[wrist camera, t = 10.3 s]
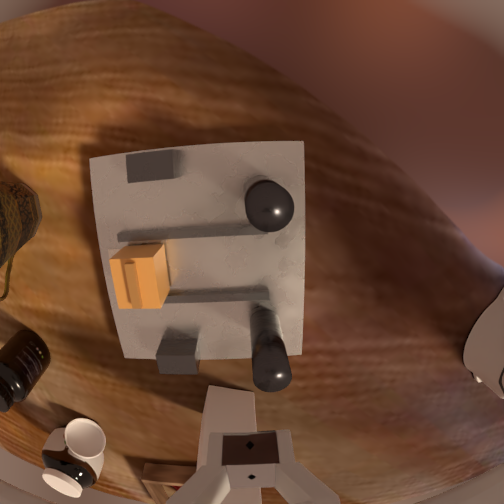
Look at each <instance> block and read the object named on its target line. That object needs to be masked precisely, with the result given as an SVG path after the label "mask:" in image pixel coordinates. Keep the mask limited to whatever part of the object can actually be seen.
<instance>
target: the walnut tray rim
mask: <svg viewBox="0 0 504 504" xmlns="http://www.w3.org/2000/svg"><path fill="white" fill-rule="evenodd" d="M196 469H197V466H178V465H165V464H154V463H145V465H144V470H143V474H142V478H141V480H142V482H143V484H144V485H145V487H146V489H147V490H148V492H149V493H150V495H151V497H152V498H153V500H154V501H155V503H156V504H166V501H167V500H168V499H169V497H168V496H167V494H166V492H165V490H164V488H163V487H162V485H172V486H183V485H184V484H185V483H186V482H187V481H188V480H189V479H190V478H191V477H192V476H193V475H194V474H195V473H196Z"/></svg>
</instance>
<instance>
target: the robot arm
mask: <svg viewBox="0 0 504 504" xmlns="http://www.w3.org/2000/svg"><path fill="white" fill-rule="evenodd" d="M463 360H464V364H465V367H466V368H467V369H468V370H470V371H471V372H473V375H474V379H475V380H476V381H477V382H484V383H485V384H486V385H487V386H488V387H489V388H490V389H491V390H493V391H494V392H495V393H496V394H497V395H498V396H499V397H501V398H503V399H504V287H503V289H502V291H501V292H500V294H499V296H498V297H497V298H496V300H495V301H494V302H493V303H492V304H491V305H490V306H489V307H488V308H487V309H486V310H485V311H484V312H483V313H482V315H481V316H480V317H479V319H478V320H477V322H476V323H475V325H474V327H473V328H472V330H471V332H470V334H469V337H468V339H467V342H466V345H465V348H464V354H463ZM262 487H275V488H276V490H277V491H278V492H279V493H280V494H281V495H282V496H283V498H284V499H285V500H286V501H287V502H288V503H289V504H340V500H339V496H338V495H337V494H336V493H335V492H333V491H332V490H331V489H330V488H328V487H327V486H326V485H325V484H324V483H323V482H321V481H320V480H319V479H318V478H317V477H316V476H314V475H313V474H312V473H311V472H310V471H309V470H308V469H306V468H305V467H304V466H303V465H302V464H301V463H300V462H295V458H294V452H293V446H292V439H291V433H290V430H289V429H288V430H276V431H275V430H273V431H259V432H250V433H215V432H210V434H209V441H208V451H207V462H206V465H202V466H201V467H200V468H199V469H198V470H197V471H196V473H195V474H194V475H193V476H192V477H191V478H190V479H189V480H188V481H187V482H186V483H185V484H184V485H183V486H182V487H181V488H179V489H178V490H177V491H176V492H175V493H174V494H173V495H172V496H171V497H170V498H169V499H168V500H167V501H166V504H220V503H221V502H222V501H223V499H224V498H225V497H226V495H227V494H228V493H229V491H230V490H231V489H236V488H262ZM0 504H57V503H53V502H51V501H48V500H46V499H43V498H41V497H38V496H36V495H33V494H31V493H29V492H26V491H24V490H21V489H19V488H17V487H15V486H13V485H11V484H9V483H7V482H5V481H3V480H1V479H0ZM415 504H504V462H503V463H502V464H500V465H498V466H496V467H495V468H493V469H491V470H489V471H487V472H485V473H484V474H482V475H480V476H478V477H476V478H474V479H472V480H470V481H468V482H466V483H464V484H461V485H459V486H457V487H455V488H453V489H450V490H448V491H446V492H443V493H441V494H439V495H436V496H433V497H431V498H428V499H426V500H423V501H420V502H417V503H415Z"/></svg>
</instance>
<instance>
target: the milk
mask: <svg viewBox="0 0 504 504" xmlns="http://www.w3.org/2000/svg"><path fill="white" fill-rule="evenodd" d="M210 432H215V433H250V432H256V417H255V402H254V392H250V391H243V390H237V389H230V388H224V387H218V386H213V385H209V386H208V391H207V395H206V400H205V405H204V409H203V414H202V423H201V431H200V441H199V450H198V459H197V469H196V471H197V470H198V469H199V468H200V467H201V466H202V465H206V462H207V451H208V441H209V434H210ZM220 504H262V502H261V489H260V488H236V489H231V490H230V491H229V493H228V494H227V495H226V497H225V498H224V499H223V501H222V502H221V503H220Z"/></svg>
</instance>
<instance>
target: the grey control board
mask: <svg viewBox="0 0 504 504" xmlns="http://www.w3.org/2000/svg"><path fill="white" fill-rule="evenodd" d="M89 161H90V175H91V186H92V196H93V205H94V213H95V220H96V228H97V234H98V241H99V247H100V253H101V259H102V264H103V270H104V275H105V280H106V285H107V289H108V294H109V299H110V303H111V307H112V312H113V316H114V320H115V324H116V328H117V332H118V335H119V339H120V343H121V346H122V350H123V353H124V357H125V358H135V359H156V360H157V364H158V369H159V372H160V374H198V370H199V364H200V359H238V358H252V369H253V382H254V384H255V386H256V387H257V388H258V389H260V390H262V391H265V392H276V391H280V390H282V389H284V388H285V387H287V386H288V385H289V383H290V382H291V379H292V374H291V370H290V365H289V361H288V355H300V354H302V336H303V311H304V277H305V165H304V141H260V142H235V143H217V144H203V145H190V146H179V147H169V148H160V149H151V150H143V151H135V152H128V153H121V154H114V155H108V156H101V157H95V158H89ZM150 244H164V247H165V255H166V263H167V271H168V278H169V286H170V291H169V293H168V295H167V297H166V299H165V301H164V303H163V305H162V307H161V308H160V309H119V307H118V303H117V298H116V293H115V288H114V283H113V278H112V273H111V268H110V262H109V259H110V258H111V257H112V256H114V255H115V254H116V253H117V252H118V251H119V250H120V249H122V248H123V247H124V246H133V245H150Z"/></svg>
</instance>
